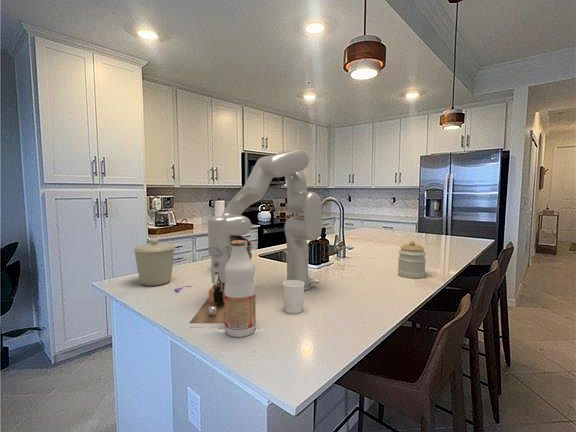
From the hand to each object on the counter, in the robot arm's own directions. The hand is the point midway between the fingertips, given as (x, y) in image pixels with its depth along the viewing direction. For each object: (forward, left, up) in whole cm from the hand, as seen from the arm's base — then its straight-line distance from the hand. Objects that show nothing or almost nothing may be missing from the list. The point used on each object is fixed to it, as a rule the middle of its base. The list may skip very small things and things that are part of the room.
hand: (220, 297), depth 118 cm
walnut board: (0, +6, -4) cm, 7 cm away
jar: (-87, -45, -4) cm, 98 cm away
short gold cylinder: (0, 0, -2) cm, 2 cm away
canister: (+37, -31, -4) cm, 48 cm away
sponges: (+17, -17, -4) cm, 25 cm away
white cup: (-27, +2, -4) cm, 27 cm away
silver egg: (0, +11, -2) cm, 11 cm away
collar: (0, 0, 0) cm, 0 cm away
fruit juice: (-10, +19, -4) cm, 22 cm away
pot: (+5, -54, -4) cm, 54 cm away
